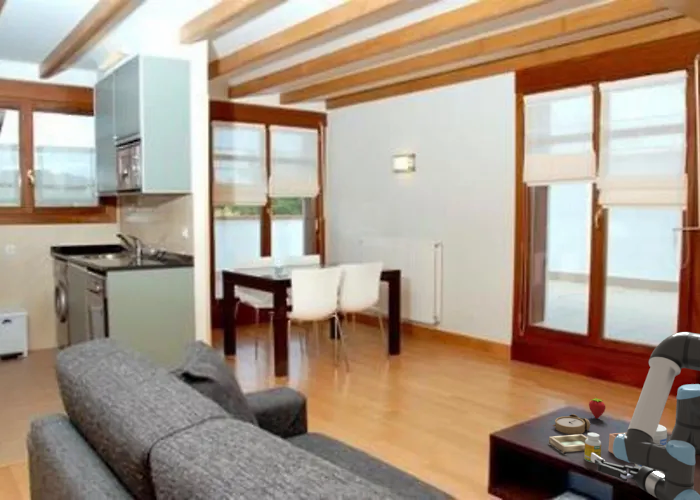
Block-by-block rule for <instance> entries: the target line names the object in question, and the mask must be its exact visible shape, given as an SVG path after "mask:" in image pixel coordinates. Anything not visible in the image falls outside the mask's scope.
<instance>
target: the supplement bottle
mask: <svg viewBox="0 0 700 500" xmlns="http://www.w3.org/2000/svg"><path fill="white" fill-rule="evenodd" d="M586 437H587V438H588V439H586V440H585V450H584V454H583V455H584V456H583V457H584V458H583V459H584V460H585V461H586V462H589V463H594V462H592V461H591V453H595V454H596V455H598V456H599V457H601V456H602V441H601V440H600V438H601V437H600V434H598V433H596V432H587V435H586ZM601 458H602V457H601ZM594 464H595V463H594Z"/></svg>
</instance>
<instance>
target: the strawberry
mask: <svg viewBox="0 0 700 500" xmlns="http://www.w3.org/2000/svg"><path fill="white" fill-rule="evenodd" d="M588 407H589V410H590V411H591V414H592V415H593V417H594V419H597V420H598V419H599V418H600V417H601V416H602V415H603V414H604V413H605V410H606V404H605V403H604V400H602V398H598V396H597V395H595V397H593V399H591V398H590V401H589V402H588Z"/></svg>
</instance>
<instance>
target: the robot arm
mask: <svg viewBox="0 0 700 500" xmlns="http://www.w3.org/2000/svg"><path fill="white" fill-rule="evenodd" d="M648 365H649V367H650V368H649V369H648V373H647V375H646V377H645V381H644V383H643V387H642V389H641V392H640V395H639V398H638V401H637V403H636V406H635V409H634V411H633V414H632V417H631V419H630V422H629V424H628V428H627V431H626V432H625V433H626V435H625V434H618V435H617V436H616V437H615V439H614V443H613V453H614V454H613V455H614V457H615V458H617V459H618V460H621V461H624V462H626V463H629V464H630V463H632V464H634V466H631V465H627V464H625V465H621V464H616V463H612V462H608V461H606V460H605V459H604V458H602V457H599V456H598V455H596V454H595V453H591V461H592V462H591V463H593V462H594V465H596V466H597V469H596V470H597V472H600V473H602V474H606V475H608V476H611V477H614V478H617V479H618V480H619V479H620V480H621V481H623V482H627V481H628V479H631V480H633V481H634V482H635V483H636V484H637V487H638V488H640V489H641V490H643V491H644V492H646V493H647V494H650V495H652V496H653V497H654V498H656V499H657V500H700V494H699V493H698V491H696V490H695V488H694V487H695V482H694V481H695V470H696V462H697V461H696V455H700V384H699V383H695V384H694V383H691V384H688V383H687V384H683V385H681V386H679V387H678V388H677V392H676V393H677V395H676V397H675V399H676V405H675V424H674V426H673V429H672V431H671V434H670V435H669V438H668V441H667V444H666V445H662V444H658V443H654V442H653V439H654V436H655V433H656V430H657V428H658V425H660V421H661V418H662V415H663V413H664V411H665V410H664V409H665V406H666V403H667V402H668V398H669V394H670V393H671V390H672V386H673V384H674V380H675V377H676V376H678V375H680V374H681V371H682V369H688V370H693V371H699V372H700V333H695V332H690V331H680V332H677V333H673V334H671V335H669V336H668V337H666V338H665V339H663V340H662V341H661V342H659V343H658V344H657V346H655V348H654V350H653V351H652V353H651V354H650V357H649V359H648ZM635 464H638V465H642V467H639V466H635ZM627 471H628V472H627ZM661 471H662V472H661Z"/></svg>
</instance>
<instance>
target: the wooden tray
mask: <svg viewBox="0 0 700 500" xmlns="http://www.w3.org/2000/svg"><path fill="white" fill-rule="evenodd" d="M586 439H588V438H587V435H584V434H583V433H581V434H566V435H555V436H548V444H549V445H550V446H552V447H553V448H554V449H557V450H558V451H559V452H561V453H562V454H565V455H566V453H570V452H581V451H585V440H586Z"/></svg>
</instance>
